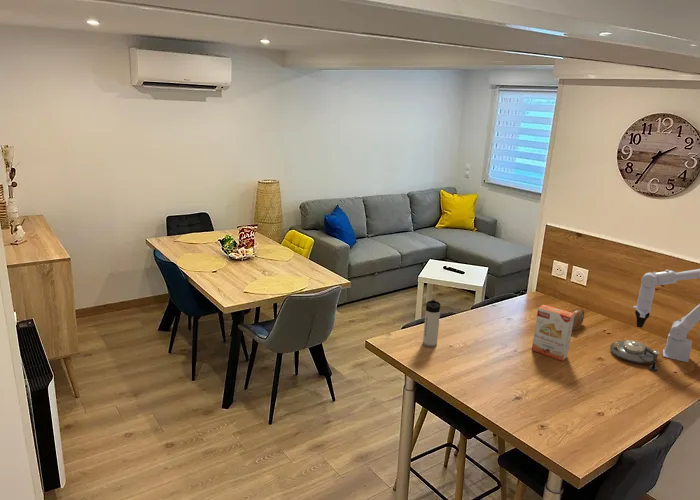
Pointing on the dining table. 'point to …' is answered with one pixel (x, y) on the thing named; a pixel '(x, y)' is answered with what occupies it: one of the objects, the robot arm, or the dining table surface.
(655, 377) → the dining table surface
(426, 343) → the travel mug
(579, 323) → the tin
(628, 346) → the cover
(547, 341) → the cracker box
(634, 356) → the disc
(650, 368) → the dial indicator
